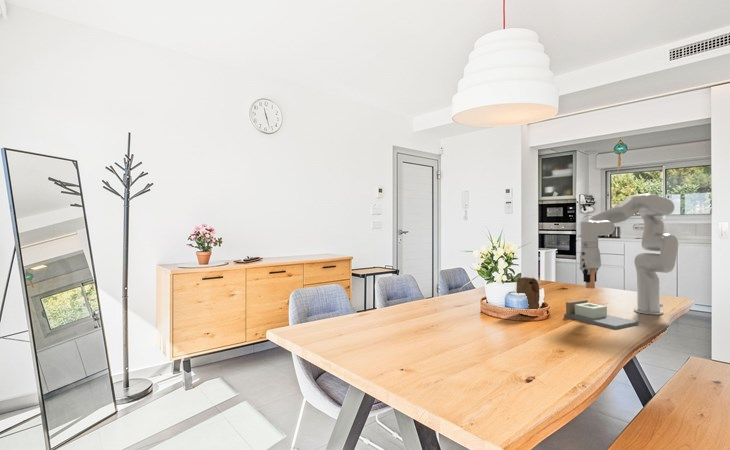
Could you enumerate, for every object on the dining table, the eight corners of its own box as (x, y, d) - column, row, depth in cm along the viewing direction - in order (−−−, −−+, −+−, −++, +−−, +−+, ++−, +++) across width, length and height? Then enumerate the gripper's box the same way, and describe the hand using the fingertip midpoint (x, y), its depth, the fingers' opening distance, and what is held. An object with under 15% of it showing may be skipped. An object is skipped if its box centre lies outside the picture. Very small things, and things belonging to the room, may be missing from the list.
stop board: (586, 313, 202) (585, 299, 202) (638, 324, 178) (638, 308, 178) (564, 316, 195) (564, 302, 195) (615, 329, 171) (615, 312, 171)
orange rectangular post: (589, 286, 193) (588, 267, 193) (596, 288, 189) (596, 268, 189) (583, 287, 191) (583, 267, 191) (591, 288, 188) (591, 268, 188)
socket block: (587, 312, 197) (587, 302, 197) (606, 316, 188) (606, 306, 188) (574, 314, 193) (574, 304, 193) (593, 318, 184) (593, 308, 184)
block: (515, 314, 202) (514, 277, 202) (524, 312, 206) (523, 275, 206) (532, 318, 193) (532, 279, 193) (542, 316, 196) (541, 278, 196)
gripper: (585, 246, 183) (586, 284, 183) (607, 245, 190) (608, 281, 190) (571, 245, 190) (571, 281, 190) (593, 244, 197) (593, 279, 197)
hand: (590, 281), depth 190 cm, fingers closed on orange rectangular post, 4 cm apart
